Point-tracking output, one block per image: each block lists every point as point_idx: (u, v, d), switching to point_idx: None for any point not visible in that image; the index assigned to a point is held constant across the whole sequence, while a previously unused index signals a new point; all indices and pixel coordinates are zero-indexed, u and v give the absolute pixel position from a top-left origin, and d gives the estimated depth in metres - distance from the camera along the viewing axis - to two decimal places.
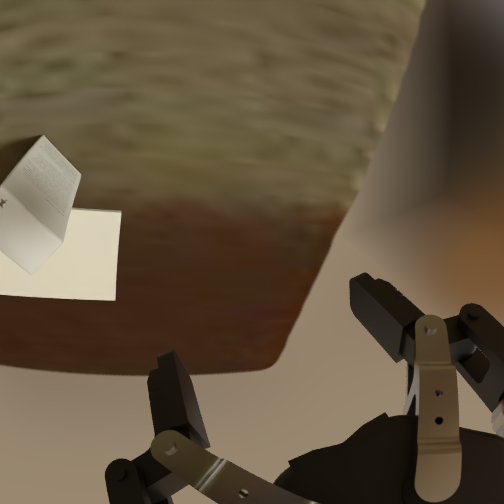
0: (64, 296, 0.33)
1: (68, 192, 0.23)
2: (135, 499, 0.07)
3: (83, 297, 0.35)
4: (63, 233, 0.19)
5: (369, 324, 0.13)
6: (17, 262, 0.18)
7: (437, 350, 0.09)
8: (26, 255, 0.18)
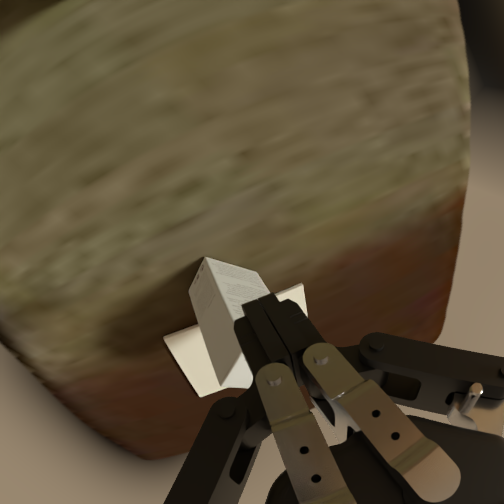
0: None
1: None
2: (225, 442, 0.08)
3: None
4: None
5: None
6: None
7: (342, 374, 0.09)
8: None
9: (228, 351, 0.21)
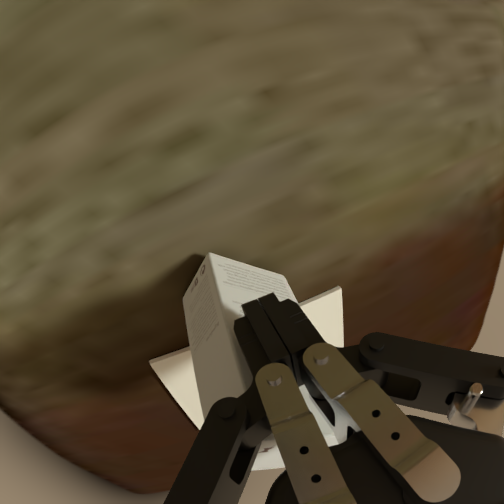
0: None
1: None
2: (225, 442, 0.08)
3: None
4: None
5: None
6: None
7: (342, 375, 0.09)
8: None
9: None
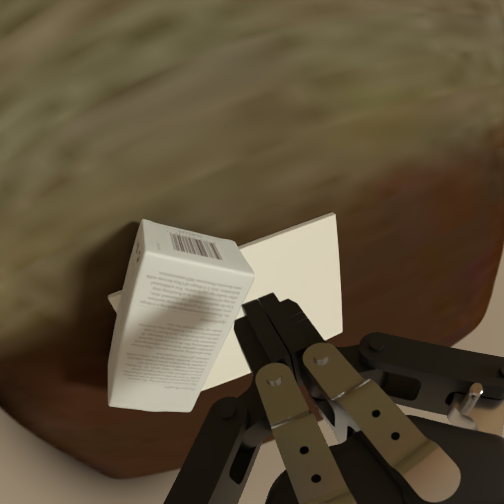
0: None
1: (207, 350, 0.18)
2: (225, 442, 0.08)
3: None
4: (191, 405, 0.20)
5: None
6: None
7: (342, 374, 0.09)
8: None
9: (109, 378, 0.19)
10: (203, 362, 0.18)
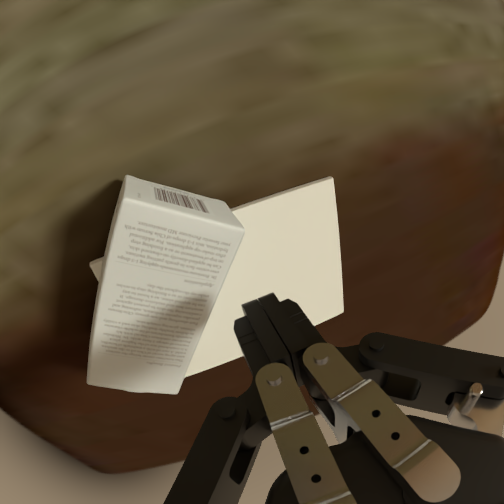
0: None
1: (193, 319, 0.16)
2: (225, 442, 0.08)
3: None
4: (178, 386, 0.18)
5: None
6: None
7: (342, 374, 0.09)
8: None
9: None
10: (189, 333, 0.17)
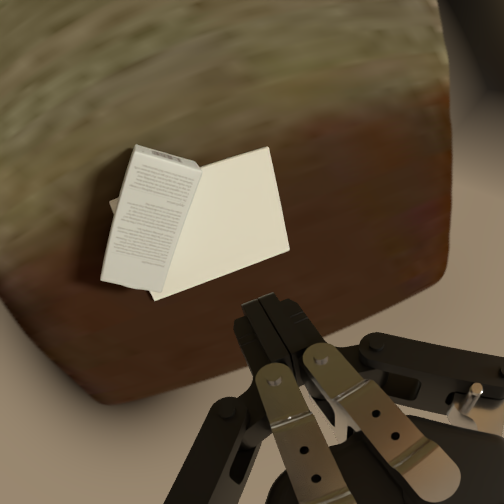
0: (234, 268, 0.35)
1: (172, 229, 0.26)
2: (225, 442, 0.08)
3: (255, 260, 0.35)
4: (162, 285, 0.29)
5: None
6: None
7: (342, 374, 0.09)
8: None
9: (103, 261, 0.27)
10: (169, 240, 0.27)
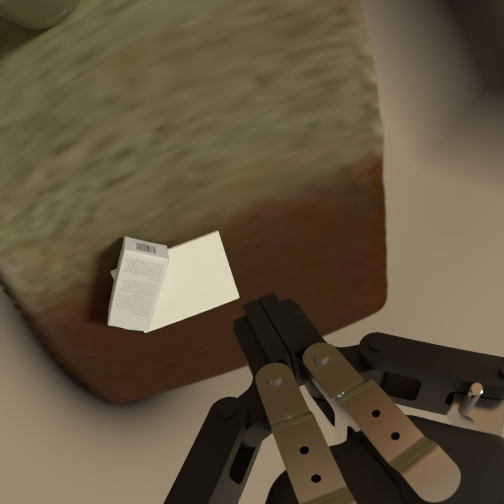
0: (199, 311, 0.49)
1: (152, 294, 0.40)
2: (225, 442, 0.08)
3: (214, 305, 0.49)
4: (148, 327, 0.42)
5: None
6: None
7: (342, 374, 0.09)
8: None
9: (109, 311, 0.41)
10: (151, 300, 0.40)
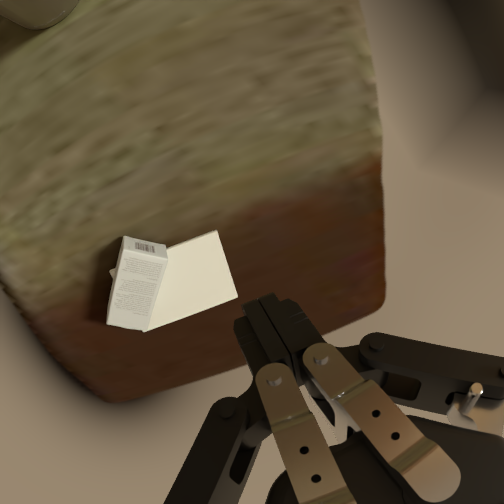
0: (198, 310, 0.49)
1: (151, 293, 0.40)
2: (225, 442, 0.08)
3: (213, 305, 0.49)
4: (147, 326, 0.42)
5: None
6: None
7: (342, 374, 0.09)
8: None
9: (107, 310, 0.41)
10: (150, 300, 0.40)
